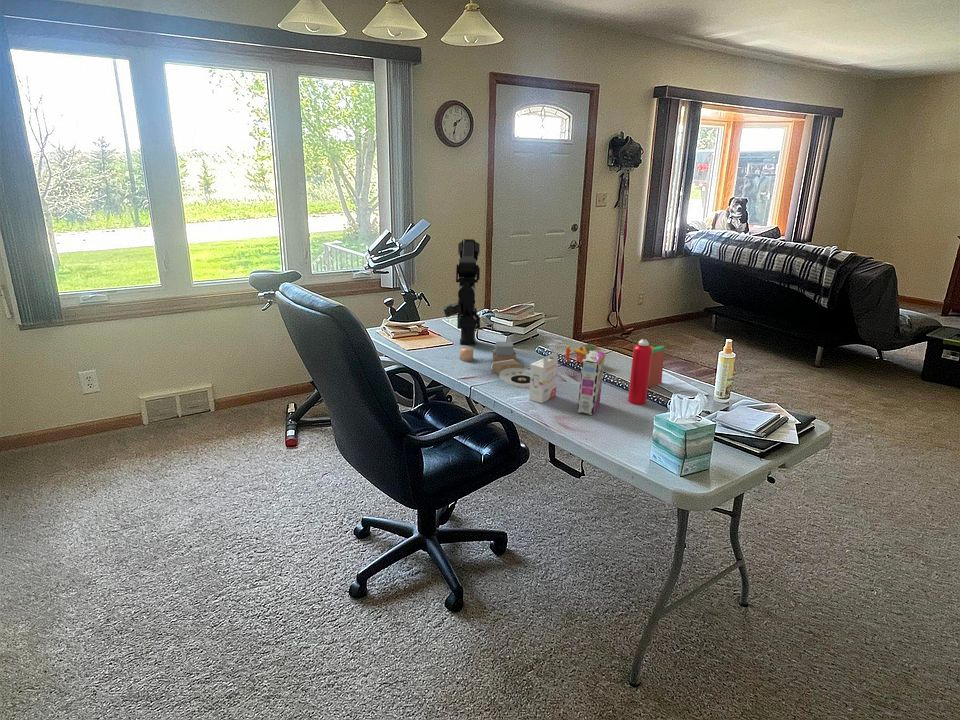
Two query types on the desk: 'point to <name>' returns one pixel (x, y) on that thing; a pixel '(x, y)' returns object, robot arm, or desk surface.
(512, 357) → the walnut block
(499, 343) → the slate block
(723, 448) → the desk surface
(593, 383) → the candy bar box
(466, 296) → the robot arm
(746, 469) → the desk surface
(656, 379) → the toy building block set
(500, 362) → the record player
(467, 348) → the clay cylinder
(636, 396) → the bottle
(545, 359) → the ink cartridge box
